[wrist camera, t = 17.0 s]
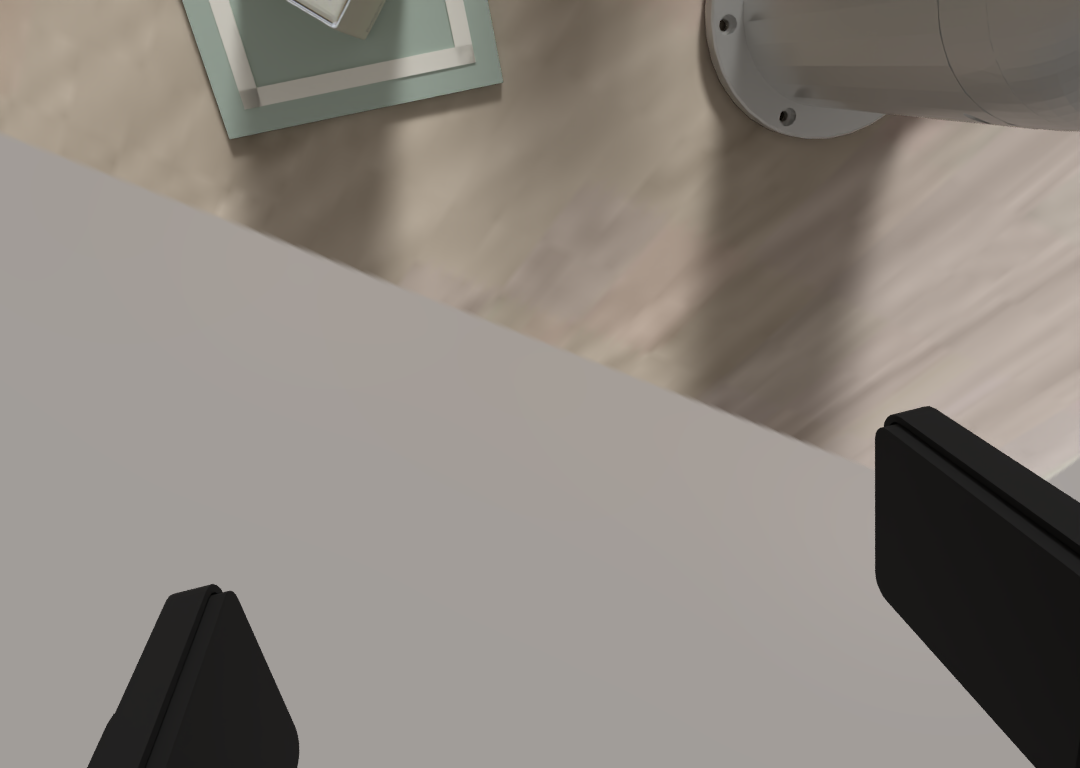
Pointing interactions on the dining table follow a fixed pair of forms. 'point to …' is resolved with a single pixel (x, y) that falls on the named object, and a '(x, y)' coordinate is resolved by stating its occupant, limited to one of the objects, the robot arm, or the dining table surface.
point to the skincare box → (343, 14)
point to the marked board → (337, 59)
